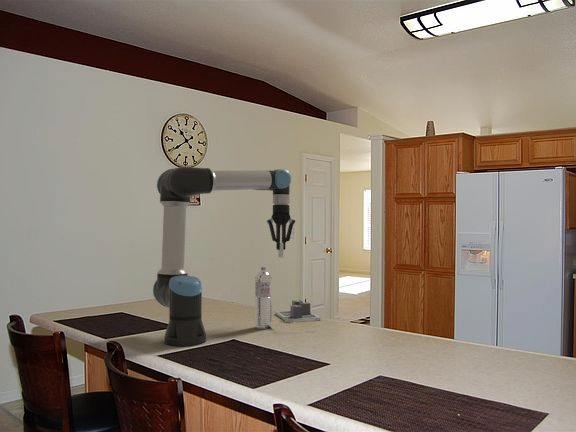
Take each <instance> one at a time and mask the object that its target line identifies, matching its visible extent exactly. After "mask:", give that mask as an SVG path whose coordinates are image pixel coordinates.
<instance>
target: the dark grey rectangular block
mask: <svg viewBox="0 0 576 432" xmlns="http://www.w3.org/2000/svg"><path fill="white" fill-rule="evenodd" d="M289 309H290V310H289V311H290V319H295V318H302V306H300V305H292V304H291V305H290V308H289Z"/></svg>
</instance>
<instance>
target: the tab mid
mask: <svg viewBox="0 0 576 432" xmlns="http://www.w3.org/2000/svg"><path fill="white" fill-rule="evenodd" d="M299 305H300V306H302V315H310V312H311V303H310V302H307V301H303V303H299Z"/></svg>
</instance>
